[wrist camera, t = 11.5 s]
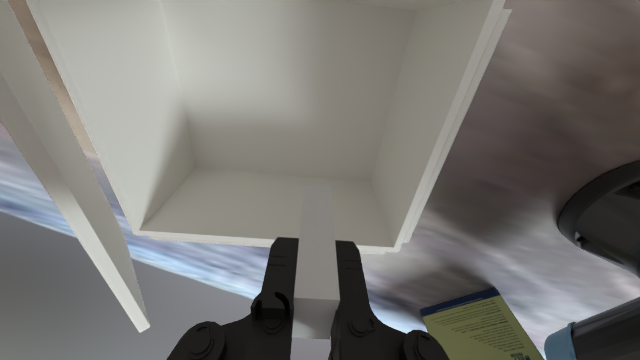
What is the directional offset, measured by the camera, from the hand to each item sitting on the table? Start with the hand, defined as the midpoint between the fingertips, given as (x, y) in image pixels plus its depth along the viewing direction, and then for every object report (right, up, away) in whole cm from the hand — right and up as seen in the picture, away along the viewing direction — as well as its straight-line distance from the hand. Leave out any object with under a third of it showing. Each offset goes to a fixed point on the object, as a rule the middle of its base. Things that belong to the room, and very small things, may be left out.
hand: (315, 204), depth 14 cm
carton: (-3, +10, +12) cm, 16 cm away
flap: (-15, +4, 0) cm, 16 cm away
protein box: (+31, -26, +36) cm, 54 cm away
